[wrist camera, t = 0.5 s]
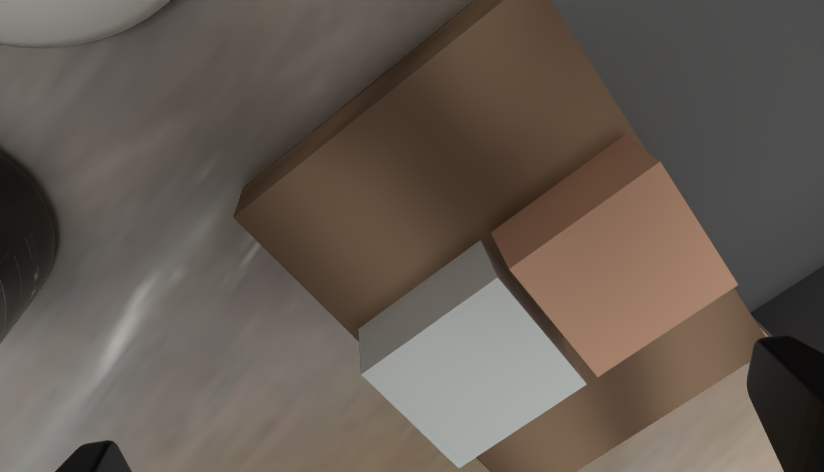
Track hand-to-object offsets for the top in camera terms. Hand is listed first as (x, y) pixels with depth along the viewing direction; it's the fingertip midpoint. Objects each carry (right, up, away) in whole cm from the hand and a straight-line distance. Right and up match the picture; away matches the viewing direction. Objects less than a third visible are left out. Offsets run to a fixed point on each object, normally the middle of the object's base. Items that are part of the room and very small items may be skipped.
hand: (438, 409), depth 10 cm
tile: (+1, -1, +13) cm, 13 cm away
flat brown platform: (+3, +2, +15) cm, 16 cm away
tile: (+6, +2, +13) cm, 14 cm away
